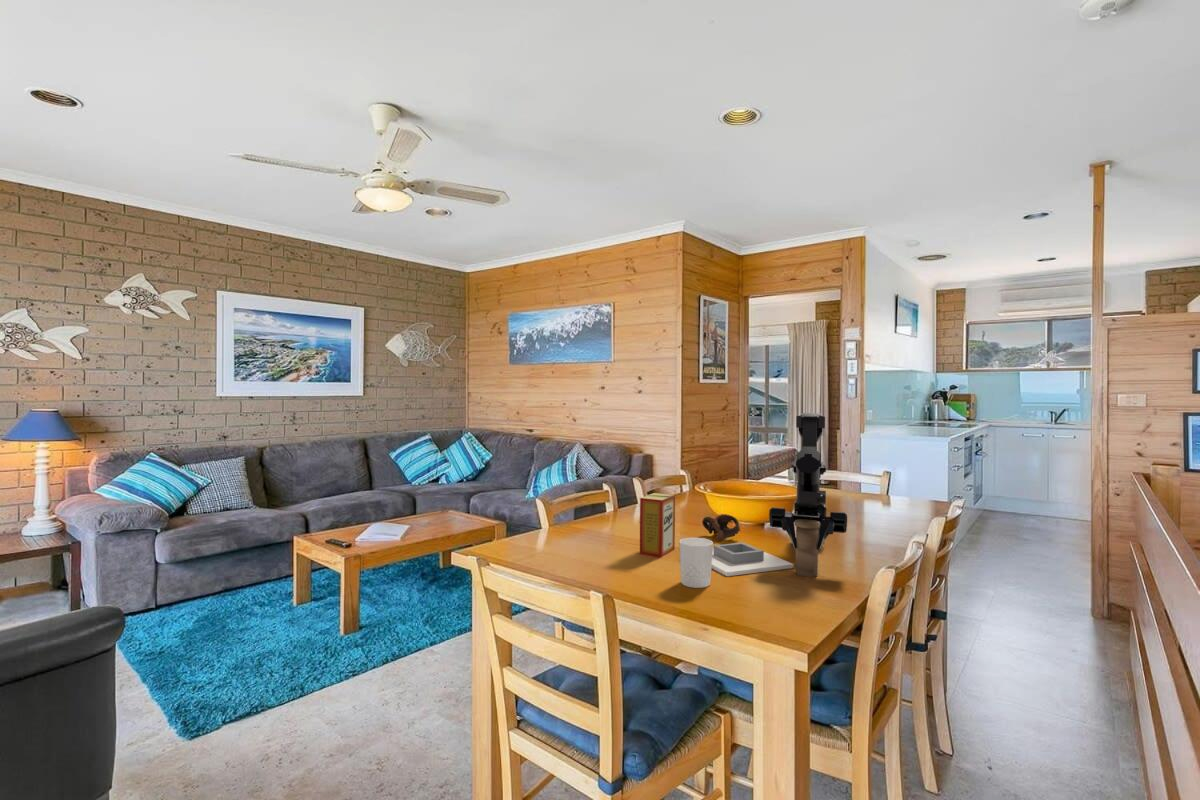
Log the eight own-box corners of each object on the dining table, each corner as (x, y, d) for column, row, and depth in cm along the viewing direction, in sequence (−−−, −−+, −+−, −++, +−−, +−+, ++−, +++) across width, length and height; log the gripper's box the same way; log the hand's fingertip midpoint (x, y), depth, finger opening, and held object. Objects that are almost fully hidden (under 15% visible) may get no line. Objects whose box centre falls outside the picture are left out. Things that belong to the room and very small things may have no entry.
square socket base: (747, 548, 174) (747, 536, 174) (793, 567, 155) (793, 554, 155) (686, 555, 166) (686, 542, 166) (727, 576, 148) (727, 562, 148)
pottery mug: (740, 536, 190) (745, 517, 185) (732, 556, 182) (736, 536, 178) (704, 523, 194) (707, 504, 190) (694, 542, 187) (697, 522, 183)
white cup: (689, 576, 148) (690, 535, 148) (718, 583, 143) (719, 541, 143) (672, 584, 142) (672, 542, 142) (701, 591, 137) (702, 547, 137)
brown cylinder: (808, 568, 154) (808, 518, 154) (824, 575, 149) (825, 523, 148) (788, 571, 152) (789, 520, 152) (804, 578, 147) (805, 525, 146)
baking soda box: (661, 557, 164) (661, 499, 164) (639, 554, 167) (640, 496, 167) (674, 549, 172) (675, 493, 172) (653, 546, 176) (654, 491, 175)
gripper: (770, 476, 157) (766, 527, 147) (847, 480, 150) (849, 534, 140) (771, 501, 164) (768, 551, 154) (845, 506, 158) (847, 558, 148)
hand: (806, 548), depth 149 cm, fingers closed on brown cylinder, 5 cm apart
